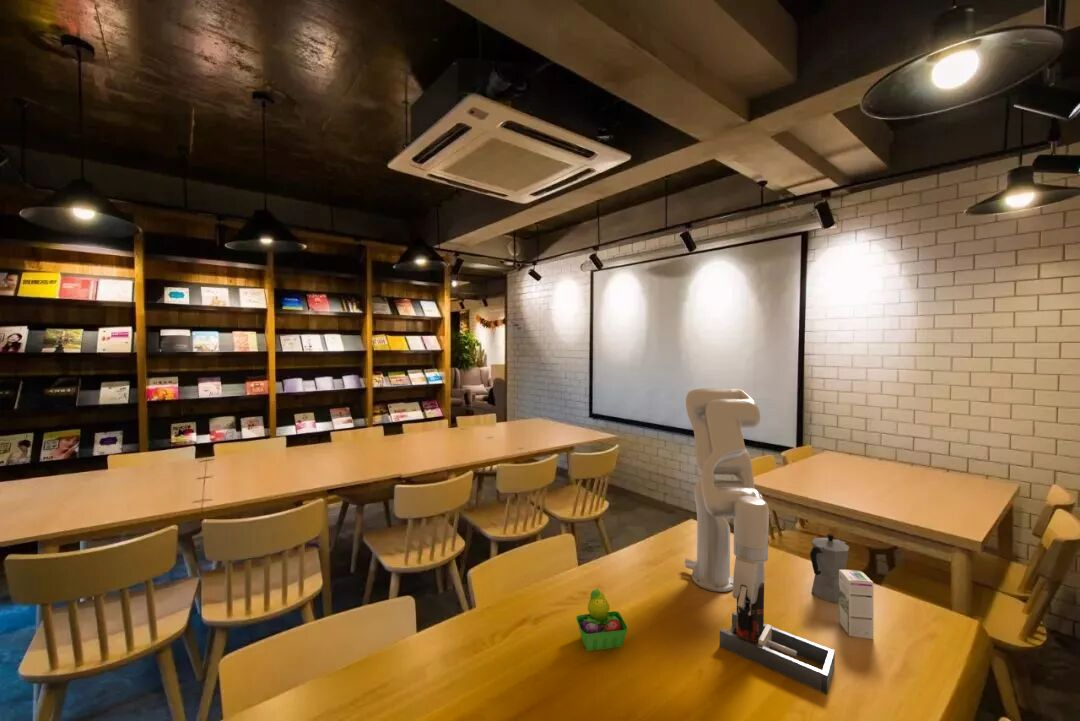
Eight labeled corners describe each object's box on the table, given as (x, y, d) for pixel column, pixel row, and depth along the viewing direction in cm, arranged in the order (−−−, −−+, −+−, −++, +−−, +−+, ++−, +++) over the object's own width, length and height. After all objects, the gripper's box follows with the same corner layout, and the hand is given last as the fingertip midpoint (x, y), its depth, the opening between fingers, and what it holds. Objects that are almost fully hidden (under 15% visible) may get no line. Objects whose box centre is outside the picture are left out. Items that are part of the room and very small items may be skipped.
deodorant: (731, 635, 109) (732, 576, 108) (754, 633, 109) (755, 574, 109) (744, 651, 103) (745, 589, 102) (768, 650, 103) (769, 588, 103)
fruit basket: (583, 655, 103) (582, 608, 103) (574, 631, 112) (574, 588, 112) (629, 650, 105) (629, 604, 105) (616, 627, 114) (616, 584, 113)
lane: (719, 646, 106) (719, 630, 106) (733, 627, 113) (733, 611, 113) (826, 694, 91) (827, 675, 91) (834, 667, 99) (834, 650, 99)
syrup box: (874, 639, 108) (875, 582, 108) (847, 636, 109) (848, 579, 109) (862, 625, 114) (863, 570, 113) (837, 622, 115) (838, 568, 115)
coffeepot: (827, 581, 135) (827, 524, 135) (860, 597, 127) (861, 536, 126) (795, 594, 128) (795, 533, 128) (828, 611, 120) (828, 546, 119)
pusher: (758, 658, 101) (758, 639, 101) (767, 641, 107) (767, 623, 107) (792, 672, 97) (792, 652, 96) (799, 655, 102) (799, 636, 102)
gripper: (745, 533, 114) (744, 601, 115) (722, 557, 101) (721, 633, 102) (777, 542, 109) (776, 612, 110) (757, 568, 96) (756, 648, 97)
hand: (749, 622), depth 106 cm, fingers closed on deodorant, 5 cm apart
